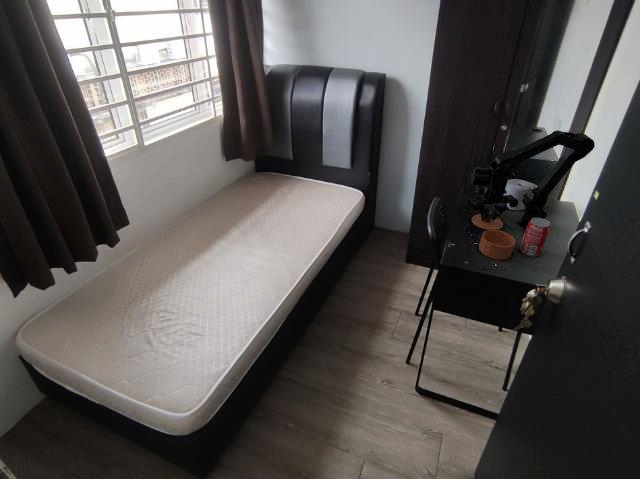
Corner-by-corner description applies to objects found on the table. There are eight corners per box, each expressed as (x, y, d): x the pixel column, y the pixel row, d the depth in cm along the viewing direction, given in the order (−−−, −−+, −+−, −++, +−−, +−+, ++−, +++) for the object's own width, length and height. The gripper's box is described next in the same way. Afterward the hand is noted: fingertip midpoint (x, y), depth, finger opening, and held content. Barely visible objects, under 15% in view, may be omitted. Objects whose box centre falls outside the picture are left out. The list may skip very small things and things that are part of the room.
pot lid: (492, 215, 163) (495, 204, 161) (508, 230, 154) (512, 219, 151) (466, 217, 162) (468, 206, 159) (480, 232, 152) (483, 221, 149)
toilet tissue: (495, 200, 174) (501, 180, 169) (518, 197, 177) (525, 177, 171) (510, 211, 166) (517, 191, 160) (534, 208, 168) (542, 188, 163)
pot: (500, 240, 147) (504, 228, 144) (517, 258, 138) (522, 245, 135) (473, 243, 146) (476, 231, 143) (488, 261, 136) (493, 248, 133)
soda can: (542, 259, 138) (555, 228, 130) (521, 256, 139) (532, 226, 132) (537, 247, 144) (549, 218, 136) (516, 245, 145) (527, 215, 137)
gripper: (508, 175, 156) (497, 209, 165) (465, 178, 153) (457, 212, 162) (524, 187, 147) (512, 222, 156) (479, 191, 144) (470, 226, 153)
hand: (487, 220), depth 157 cm, fingers open, 4 cm apart
